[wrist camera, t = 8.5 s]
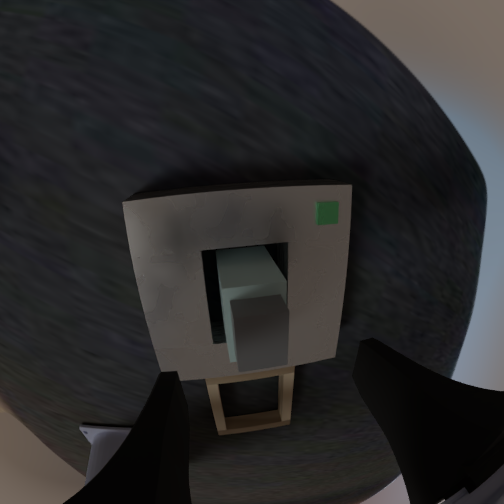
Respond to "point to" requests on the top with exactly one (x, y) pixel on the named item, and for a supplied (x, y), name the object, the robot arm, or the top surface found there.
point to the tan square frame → (258, 419)
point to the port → (236, 235)
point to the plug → (253, 308)
